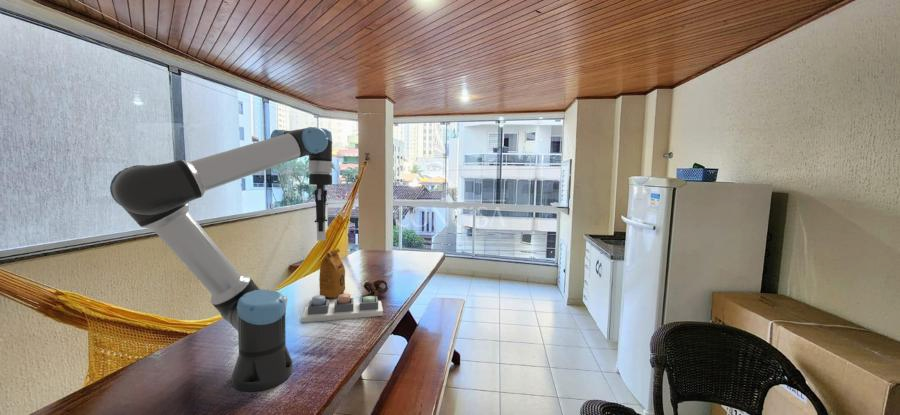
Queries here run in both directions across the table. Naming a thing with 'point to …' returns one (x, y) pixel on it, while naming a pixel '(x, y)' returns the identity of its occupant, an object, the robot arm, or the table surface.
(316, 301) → the slate button
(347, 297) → the terracotta button
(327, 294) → the coffee package
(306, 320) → the button panel
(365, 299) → the sage button
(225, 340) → the table surface
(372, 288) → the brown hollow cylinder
